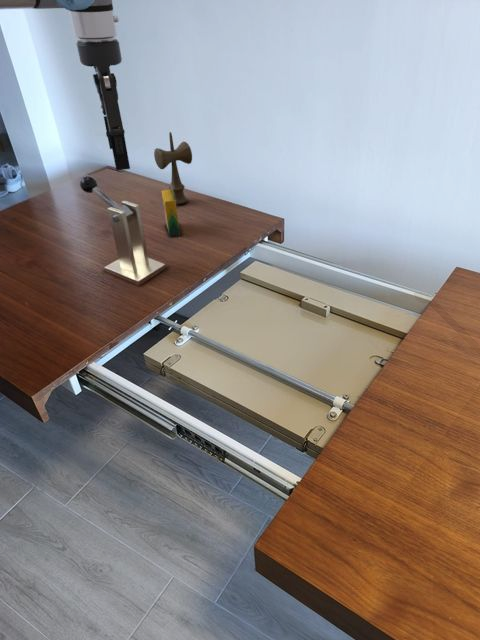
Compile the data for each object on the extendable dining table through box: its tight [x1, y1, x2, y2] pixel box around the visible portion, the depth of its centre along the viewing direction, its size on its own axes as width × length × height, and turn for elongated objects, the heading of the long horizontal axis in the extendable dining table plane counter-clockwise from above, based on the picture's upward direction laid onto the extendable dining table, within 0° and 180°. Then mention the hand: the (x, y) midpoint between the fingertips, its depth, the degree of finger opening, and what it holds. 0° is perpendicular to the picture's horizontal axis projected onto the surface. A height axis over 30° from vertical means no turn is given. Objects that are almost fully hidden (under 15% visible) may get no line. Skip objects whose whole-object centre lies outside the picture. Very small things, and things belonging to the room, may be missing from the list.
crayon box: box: [161, 182, 181, 238], centre depth 124 cm, size 7×3×12 cm, turn 15°
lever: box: [79, 175, 134, 223], centre depth 104 cm, size 14×4×4 cm, turn 56°
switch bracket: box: [103, 200, 167, 286], centre depth 107 cm, size 11×9×16 cm
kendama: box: [153, 131, 193, 206], centre depth 135 cm, size 6×10×20 cm, turn 126°
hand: (119, 158), depth 100 cm, fingers open, 13 cm apart
